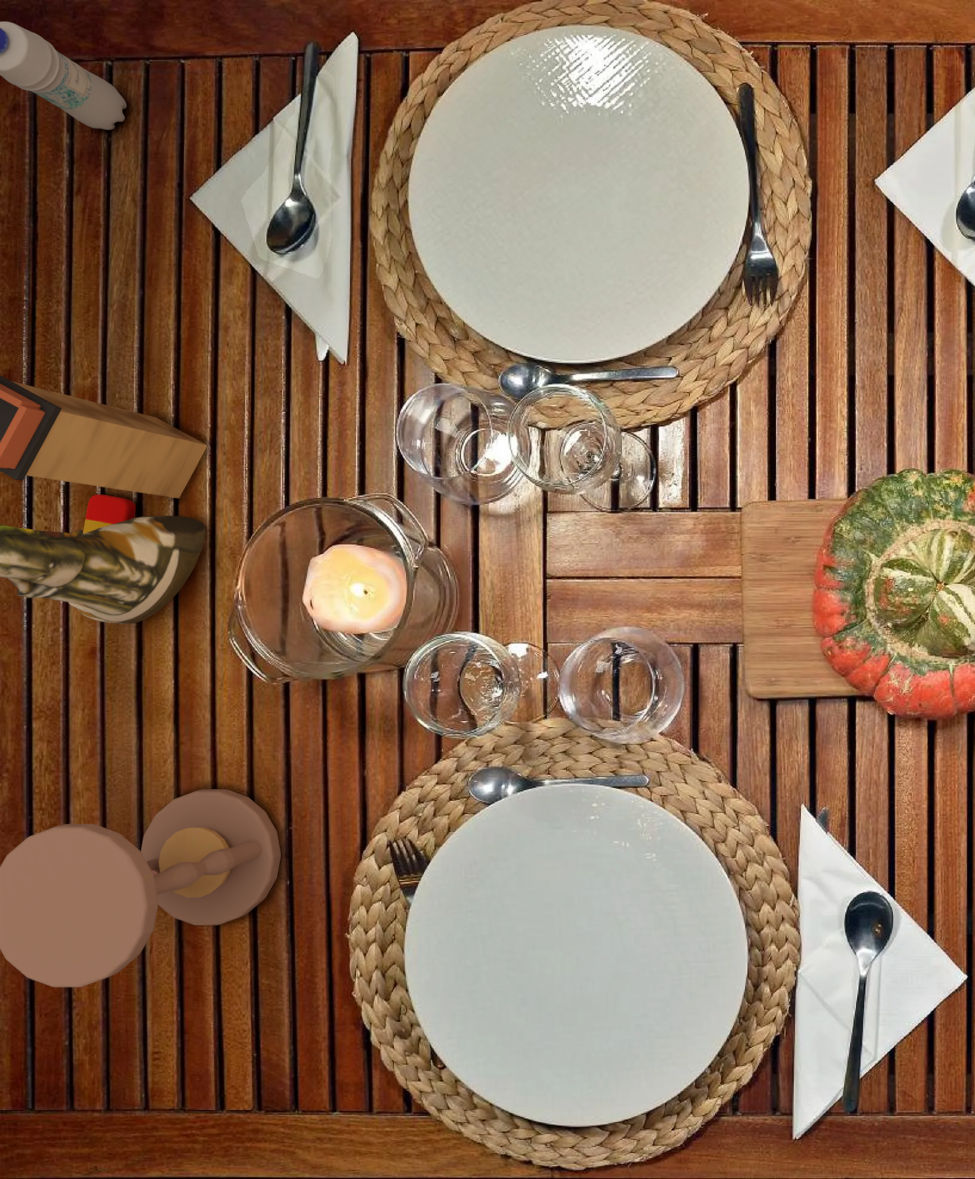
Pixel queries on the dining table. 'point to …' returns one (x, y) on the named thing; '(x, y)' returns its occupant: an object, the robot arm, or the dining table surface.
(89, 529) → the popsicle
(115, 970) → the hourglass
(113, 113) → the bottle
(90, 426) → the stand
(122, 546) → the statue
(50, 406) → the base pad
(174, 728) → the dining table surface
